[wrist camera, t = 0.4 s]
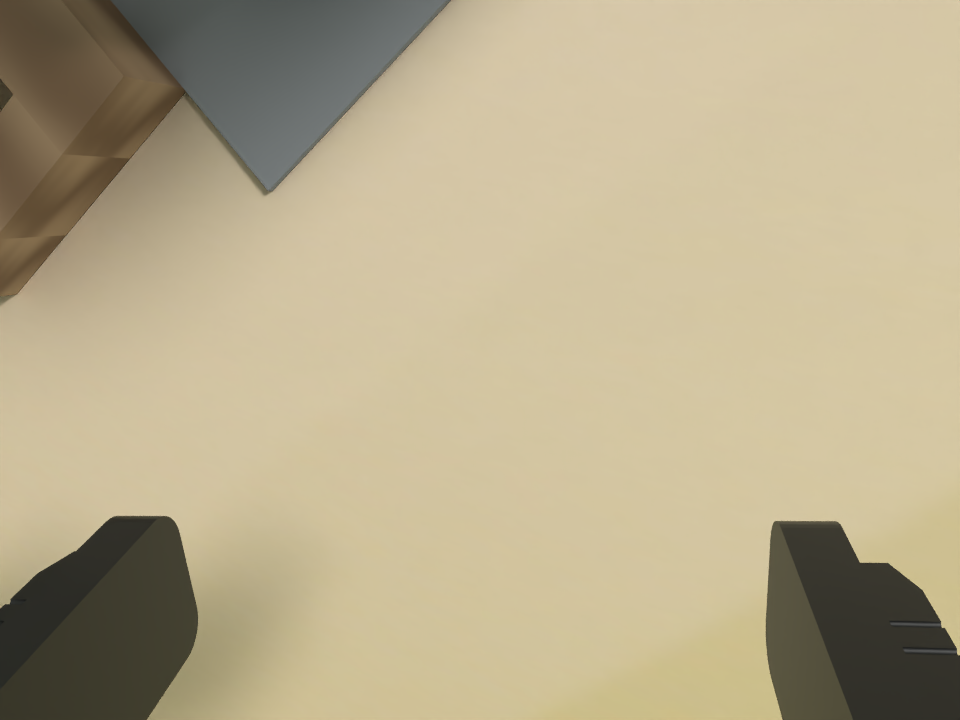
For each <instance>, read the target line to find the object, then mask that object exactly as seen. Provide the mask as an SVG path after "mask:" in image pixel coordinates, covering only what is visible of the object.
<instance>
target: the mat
mask: <svg viewBox="0 0 960 720" xmlns="http://www.w3.org/2000/svg"><path fill="white" fill-rule="evenodd" d="M111 1H112V3H113V4H114V5H115V6H116V7H117V9H118V10H119V11H120V12H121V13H122V15H123V16H124V17H125V18H126V19H127V21H128V22H129V23H130V24H131V26H132V27H133V28H134V29H135V30H136V32H137V33H138V34H139V35H140V36H141V38H142V39H143V40H144V41H145V42H146V44H147V45H148V46H149V47H150V49H151V50H152V51H153V52H154V53H155V55H156V56H157V57H158V58H159V59H160V61H161V62H162V63H163V64H164V65H165V67H166V68H167V69H168V70H169V72H170V73H171V74H172V75H173V76H174V78H175V79H176V80H177V81H178V82H179V84H180V85H181V86H182V87H183V88H184V90H185V91H186V92H187V93H188V95H189V96H190V97H191V98H192V99H193V101H194V102H195V103H196V104H197V105H198V107H199V108H200V109H201V110H202V111H203V113H204V114H205V115H206V116H207V118H208V119H209V120H210V121H211V122H212V124H213V125H214V126H215V127H216V128H217V130H218V131H219V132H220V133H221V134H222V136H223V137H224V138H225V139H226V141H227V142H228V143H229V144H230V145H231V147H232V148H233V149H234V150H235V151H236V153H237V154H238V155H239V156H240V157H241V159H242V160H243V161H244V162H245V164H246V165H247V166H248V167H249V168H250V170H251V171H252V172H253V173H254V174H255V176H256V177H257V178H258V179H259V180H260V182H261V183H262V184H263V185H264V187H265V188H266V189H267V190H268V191H273V190H274V189H275V188H276V187H277V186H278V184H279V183H280V182H281V181H282V180H283V179H284V178H285V177H286V176H287V175H288V174H289V173H290V172H291V171H292V170H293V168H294V167H295V166H296V165H297V164H298V163H299V162H300V161H301V160H302V159H303V158H304V157H305V156H306V155H307V153H308V152H309V151H310V150H311V149H312V148H313V147H314V146H315V145H316V144H317V143H318V142H319V141H320V140H321V138H322V137H323V136H324V135H325V134H326V133H327V132H328V131H329V130H330V129H331V128H332V127H333V126H334V125H335V124H336V122H337V121H338V120H339V119H340V118H341V117H342V116H343V115H344V114H345V113H346V112H347V111H348V110H349V109H350V107H351V106H352V105H353V104H354V103H355V102H356V101H357V100H358V99H359V98H360V97H361V96H362V95H363V94H364V92H365V91H366V90H367V89H368V88H369V87H370V86H371V85H372V84H373V83H374V82H375V81H376V80H377V79H378V78H379V76H380V75H381V74H382V73H383V72H384V71H385V70H386V69H387V68H388V67H389V66H390V65H391V64H392V63H393V61H394V60H395V59H396V58H397V57H398V56H399V55H400V54H401V53H402V52H403V51H404V50H405V49H406V48H407V46H408V45H409V44H410V43H411V42H412V41H413V40H414V39H415V38H416V37H417V36H418V35H419V34H420V33H421V32H422V30H423V29H424V28H425V27H426V26H427V25H428V24H429V23H430V22H431V21H432V20H433V19H434V18H435V17H436V15H437V14H438V13H439V12H440V11H441V10H442V9H443V8H444V7H445V6H446V5H447V4H448V3H449V2H450V0H111Z"/></svg>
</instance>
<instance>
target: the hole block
mask: <svg viewBox="0 0 960 720" xmlns="http://www.w3.org/2000/svg"><path fill="white" fill-rule="evenodd" d="M0 79H1V80H2V81H3V83H4V84H5V85H6V86H7V87H8V89H9V90H10V91H11V92H12V94H13V96H12V97H11V98H10V100H9V101H8V102H7V104H6V105H5V106H4V108H3V109H2V110H1V112H0V296H7V295H14V294H17V293H18V292H19V291H20V290H21V288H22V287H23V286H24V285H25V284H26V282H27V281H28V280H29V279H30V278H31V276H32V275H33V274H34V273H35V272H36V270H37V269H38V268H39V267H40V266H41V264H42V263H43V262H44V261H45V260H46V258H47V257H48V256H49V255H50V254H51V252H52V251H53V250H54V249H55V248H56V246H57V245H58V244H59V243H60V242H61V240H62V239H63V238H64V237H65V236H66V234H67V233H68V232H69V231H70V230H71V228H72V227H73V226H74V225H75V224H76V222H77V221H78V220H79V219H80V218H81V217H82V215H83V214H84V213H85V212H86V211H87V209H88V208H89V207H90V206H91V205H92V203H93V202H94V201H95V200H96V199H97V197H98V196H99V195H100V194H101V193H102V191H103V190H104V189H105V188H106V187H107V185H108V184H109V183H110V182H111V181H112V179H113V178H114V177H115V176H116V175H117V173H118V172H119V171H120V170H121V169H122V167H123V166H124V165H125V164H126V163H127V161H128V160H129V159H130V158H131V157H132V155H133V154H134V153H135V152H136V151H137V149H138V148H139V147H140V146H141V145H142V143H143V142H144V141H145V140H146V139H147V137H148V136H149V135H150V134H151V133H152V131H153V130H154V129H155V128H156V127H157V125H158V124H159V123H160V122H161V121H162V119H163V118H164V117H165V116H166V115H167V113H168V112H169V111H170V110H171V109H172V107H173V106H174V105H175V104H176V103H177V101H178V100H179V99H180V98H181V97H182V95H183V94H184V93H185V92H186V91H185V90H184V88H183V87H182V86H181V85H180V84H179V82H178V81H177V80H176V79H175V78H174V76H173V75H172V74H171V73H170V72H169V70H168V69H167V68H166V67H165V65H164V64H163V63H162V62H161V61H160V59H159V58H158V57H157V56H156V55H155V53H154V52H153V51H152V50H151V49H150V47H149V46H148V45H147V44H146V42H145V41H144V40H143V39H142V38H141V36H140V35H139V34H138V33H137V32H136V30H135V29H134V28H133V27H132V26H131V24H130V23H129V22H128V21H127V19H126V18H125V17H124V16H123V15H122V13H121V12H120V11H119V10H118V9H117V7H116V6H115V5H114V4H113V3H112V1H111V0H0Z"/></svg>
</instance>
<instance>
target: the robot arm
mask: <svg viewBox="0 0 960 720" xmlns="http://www.w3.org/2000/svg"><path fill="white" fill-rule="evenodd" d="M197 626H198V612H197V606H196V602H195V597H194V593H193V589H192V584H191V580H190V576H189V571H188V567H187V563H186V558H185V554H184V550H183V546H182V541H181V537H180V533H179V530H178V527H177V525H176V523H175V522H174V520H172V519H171V518H170V517H167V516H115V517H112V518H110V519H109V520H108V521H107V522H105V523H104V524H103V525H102V526H101V527H100V528H99V529H98V530H97V531H96V532H95V533H94V534H93V535H92V536H91V537H90V538H89V539H88V540H87V541H86V542H85V543H84V544H83V545H82V546H81V547H80V548H79V549H78V550H77V551H74V552H73V553H71V554H69V555H68V556H66V557H64V558H63V559H61V560H59V561H58V562H56V563H54V564H53V565H51V566H49V567H48V568H46V569H44V570H43V571H41V572H39V573H38V574H36V575H35V576H34V577H33V578H32V579H31V580H30V581H29V582H28V583H27V584H26V585H25V586H24V587H23V588H22V589H21V590H20V591H19V592H18V593H17V594H15V595H14V596H13V597H12V598H11V602H10V604H5V605H4V606H3V607H2V608H1V609H0V720H147V718H148V717H149V715H150V714H151V712H152V711H153V709H154V708H155V706H156V705H157V703H158V702H159V700H160V699H161V697H162V696H163V694H164V693H165V691H166V690H167V688H168V687H169V685H170V684H171V682H172V681H173V679H174V678H175V676H176V675H177V673H178V672H179V670H180V669H181V667H182V666H183V664H184V663H185V661H186V660H187V658H188V656H189V655H190V653H191V650H192V648H193V645H194V642H195V638H196V634H197ZM766 646H767V656H768V663H769V669H770V674H771V678H772V682H773V686H774V689H775V693H776V697H777V700H778V704H779V708H780V711H781V715H782V719H783V720H960V655H957V648H956V646H955V645H954V643H953V641H952V640H951V638H950V636H949V634H948V633H947V631H946V629H945V628H942V627H941V621H940V619H939V618H938V616H937V614H936V612H935V611H934V609H933V607H932V606H931V604H930V602H929V601H928V599H927V597H926V596H925V594H924V592H923V590H921V589H920V588H919V587H918V586H916V585H915V584H914V583H913V582H911V581H910V580H909V579H907V578H906V577H905V576H904V575H902V574H901V573H900V572H899V571H897V570H896V569H895V568H893V567H892V566H891V565H890V564H888V563H860V562H859V560H858V558H857V556H856V554H855V552H854V550H853V548H852V546H851V544H850V542H849V540H848V538H847V536H846V534H845V532H844V530H843V528H842V527H841V525H840V524H839V523H838V522H836V521H775V522H774V523H773V526H772V531H771V540H770V558H769V576H768V594H767V611H766Z"/></svg>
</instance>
